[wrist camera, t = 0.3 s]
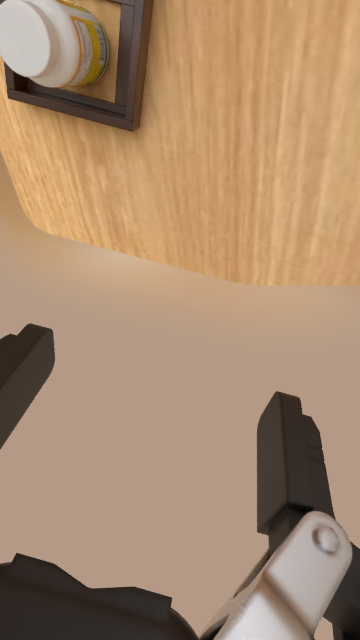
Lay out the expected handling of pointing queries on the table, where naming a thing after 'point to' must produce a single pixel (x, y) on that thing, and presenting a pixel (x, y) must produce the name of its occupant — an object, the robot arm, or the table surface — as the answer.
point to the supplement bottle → (52, 42)
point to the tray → (128, 82)
